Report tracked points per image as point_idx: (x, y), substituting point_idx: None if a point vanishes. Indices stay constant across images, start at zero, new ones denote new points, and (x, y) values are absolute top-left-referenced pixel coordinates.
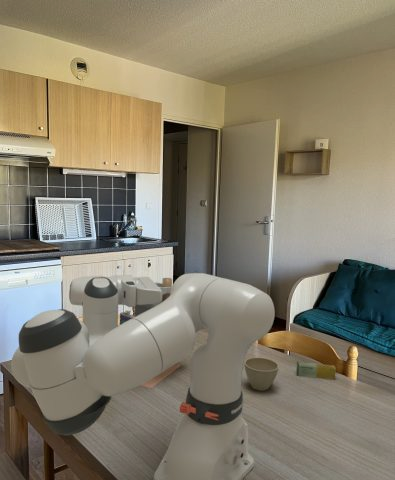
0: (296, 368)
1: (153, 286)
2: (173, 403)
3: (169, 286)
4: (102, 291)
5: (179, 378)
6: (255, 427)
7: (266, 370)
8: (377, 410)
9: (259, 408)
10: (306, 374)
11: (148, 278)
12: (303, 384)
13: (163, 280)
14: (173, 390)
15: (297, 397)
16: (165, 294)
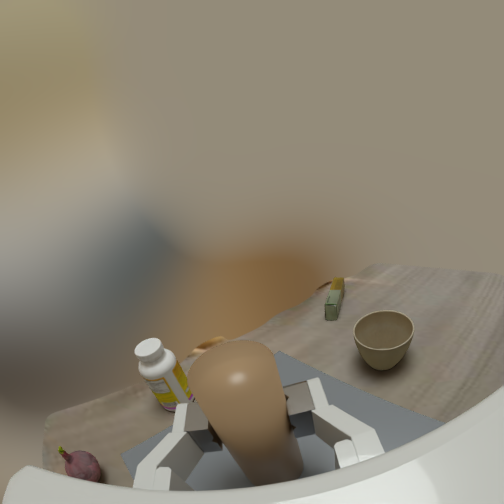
0: (331, 312)
1: (433, 479)
2: None
3: (285, 391)
4: None
5: None
6: (495, 356)
7: (363, 338)
8: (408, 271)
9: (450, 357)
10: (339, 308)
11: (57, 488)
12: (364, 315)
13: (251, 403)
14: None
15: None
16: (291, 446)
